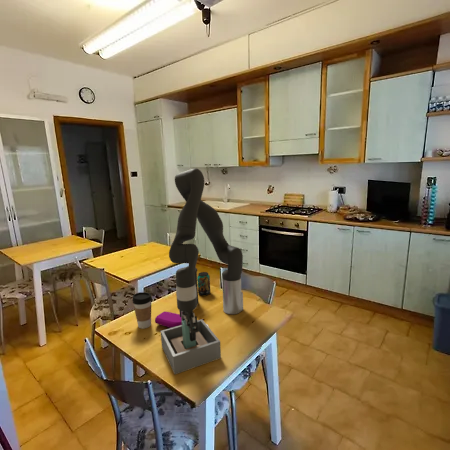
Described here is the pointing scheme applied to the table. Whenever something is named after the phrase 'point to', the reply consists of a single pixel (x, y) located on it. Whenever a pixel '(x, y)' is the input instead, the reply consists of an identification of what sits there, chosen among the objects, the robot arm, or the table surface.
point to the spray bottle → (169, 319)
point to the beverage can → (203, 283)
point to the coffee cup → (142, 309)
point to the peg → (187, 336)
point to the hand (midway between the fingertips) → (189, 334)
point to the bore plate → (178, 343)
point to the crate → (194, 355)
